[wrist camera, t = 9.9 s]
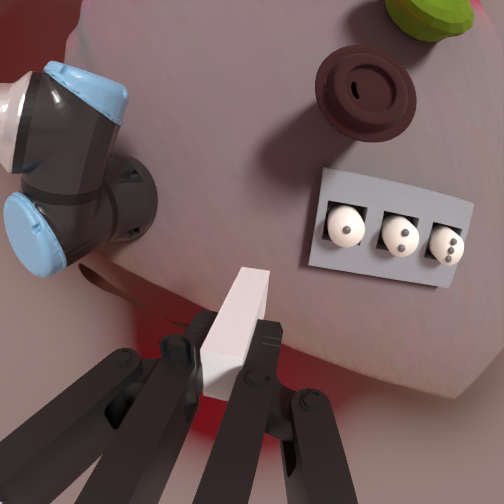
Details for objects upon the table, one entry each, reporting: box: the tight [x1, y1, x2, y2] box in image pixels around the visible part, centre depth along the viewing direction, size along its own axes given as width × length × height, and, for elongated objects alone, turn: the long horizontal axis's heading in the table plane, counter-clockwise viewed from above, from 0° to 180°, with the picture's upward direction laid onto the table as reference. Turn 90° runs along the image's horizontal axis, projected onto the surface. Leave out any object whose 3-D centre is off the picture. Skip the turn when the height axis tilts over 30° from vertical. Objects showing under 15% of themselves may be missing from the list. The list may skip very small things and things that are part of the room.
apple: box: [385, 0, 474, 42], centre depth 19 cm, size 12×12×11 cm
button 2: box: [380, 214, 419, 257], centre depth 35 cm, size 5×5×5 cm
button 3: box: [427, 225, 464, 266], centre depth 33 cm, size 5×5×5 cm
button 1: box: [327, 204, 365, 247], centre depth 36 cm, size 5×5×5 cm
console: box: [309, 167, 474, 288], centre depth 36 cm, size 24×14×2 cm, turn 85°
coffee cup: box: [315, 45, 416, 142], centre depth 26 cm, size 10×10×15 cm
